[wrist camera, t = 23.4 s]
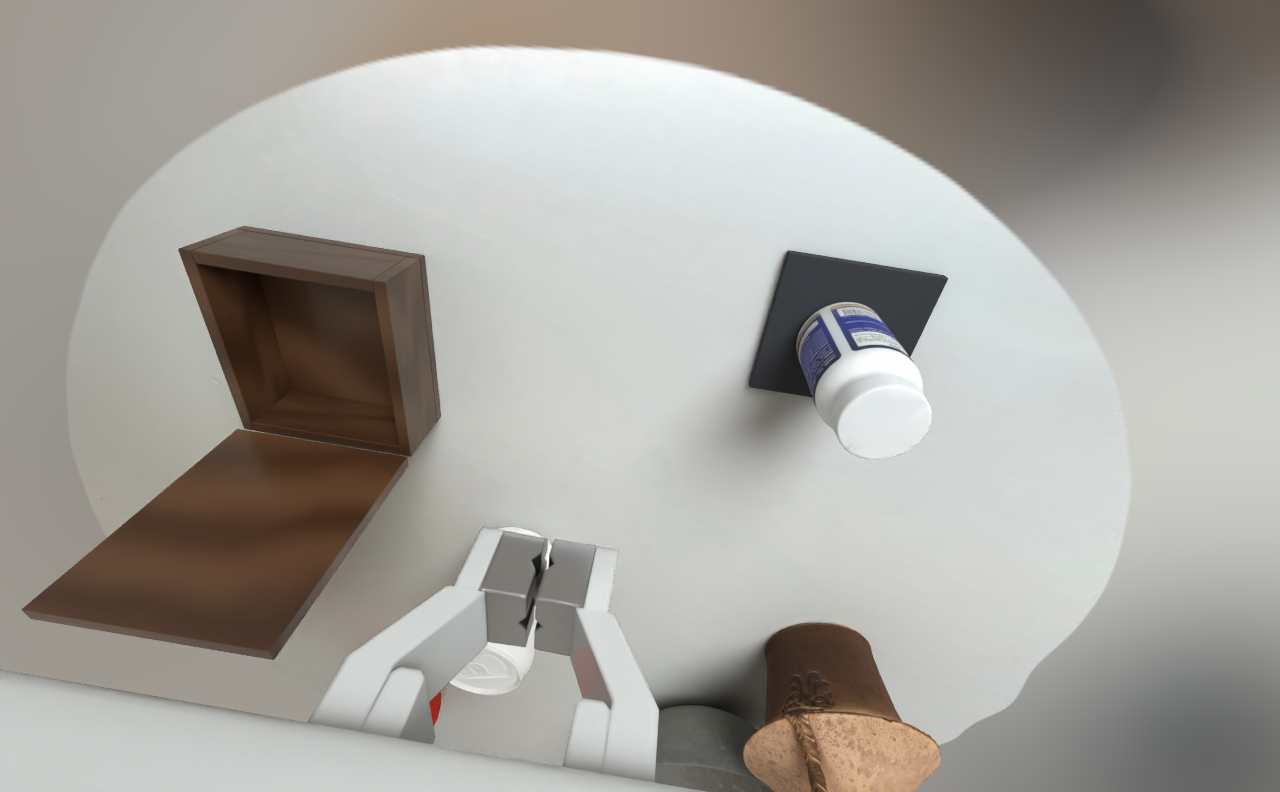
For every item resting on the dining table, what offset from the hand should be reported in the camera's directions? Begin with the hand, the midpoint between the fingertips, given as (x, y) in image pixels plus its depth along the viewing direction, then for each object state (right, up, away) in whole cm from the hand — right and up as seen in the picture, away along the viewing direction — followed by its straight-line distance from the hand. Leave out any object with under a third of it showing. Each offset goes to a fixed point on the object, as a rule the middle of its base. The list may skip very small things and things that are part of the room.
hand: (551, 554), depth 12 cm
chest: (-20, +9, +27) cm, 34 cm away
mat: (+16, +8, +23) cm, 29 cm away
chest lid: (-22, -4, +19) cm, 29 cm away
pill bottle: (+16, +8, +23) cm, 29 cm away
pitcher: (+21, -23, +43) cm, 53 cm away
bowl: (+10, -37, +53) cm, 65 cm away
